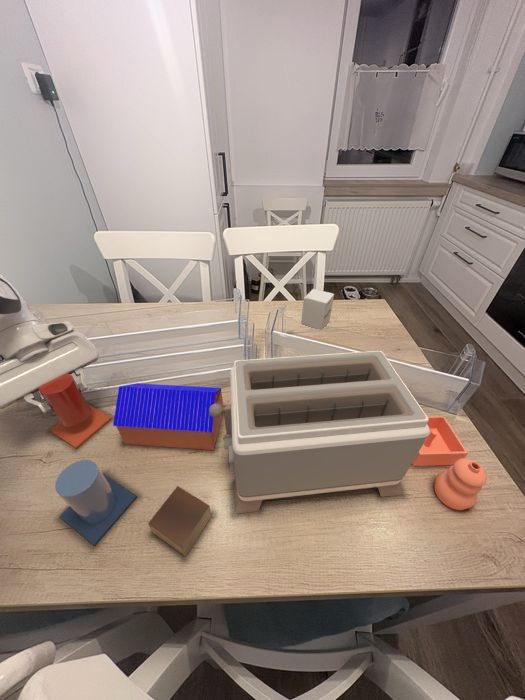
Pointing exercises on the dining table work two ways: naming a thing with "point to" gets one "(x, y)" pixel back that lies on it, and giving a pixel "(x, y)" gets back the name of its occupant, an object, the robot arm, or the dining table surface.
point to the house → (167, 415)
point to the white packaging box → (317, 309)
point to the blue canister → (86, 491)
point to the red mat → (82, 428)
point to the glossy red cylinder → (66, 400)
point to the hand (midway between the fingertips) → (67, 400)
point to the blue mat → (100, 529)
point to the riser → (180, 520)
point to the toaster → (319, 426)
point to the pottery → (462, 476)
